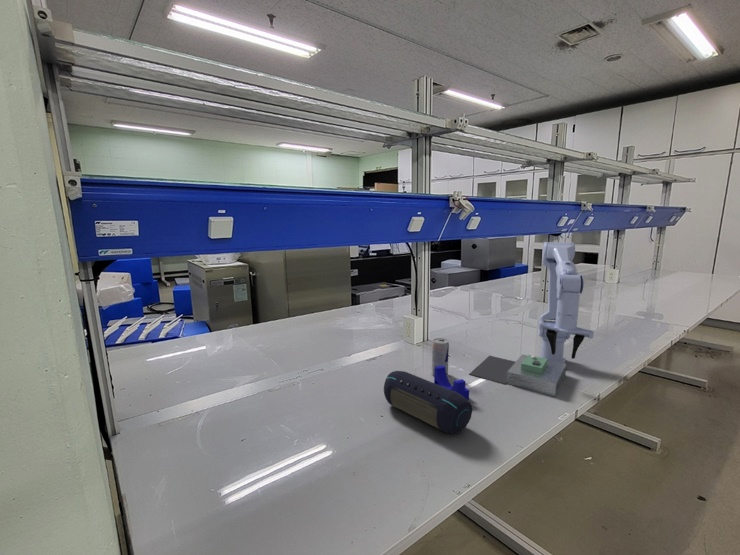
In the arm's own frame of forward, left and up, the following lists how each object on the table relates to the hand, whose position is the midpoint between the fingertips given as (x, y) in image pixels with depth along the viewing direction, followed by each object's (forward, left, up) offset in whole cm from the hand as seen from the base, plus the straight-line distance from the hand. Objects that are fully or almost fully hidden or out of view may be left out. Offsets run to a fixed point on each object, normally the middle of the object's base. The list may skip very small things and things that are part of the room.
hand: (563, 355), depth 109 cm
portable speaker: (+42, -26, -10) cm, 50 cm away
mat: (0, -20, -10) cm, 22 cm away
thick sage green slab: (0, -8, -6) cm, 10 cm away
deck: (0, -7, -10) cm, 12 cm away
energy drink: (+16, -34, -10) cm, 39 cm away
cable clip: (+24, -26, -10) cm, 37 cm away
